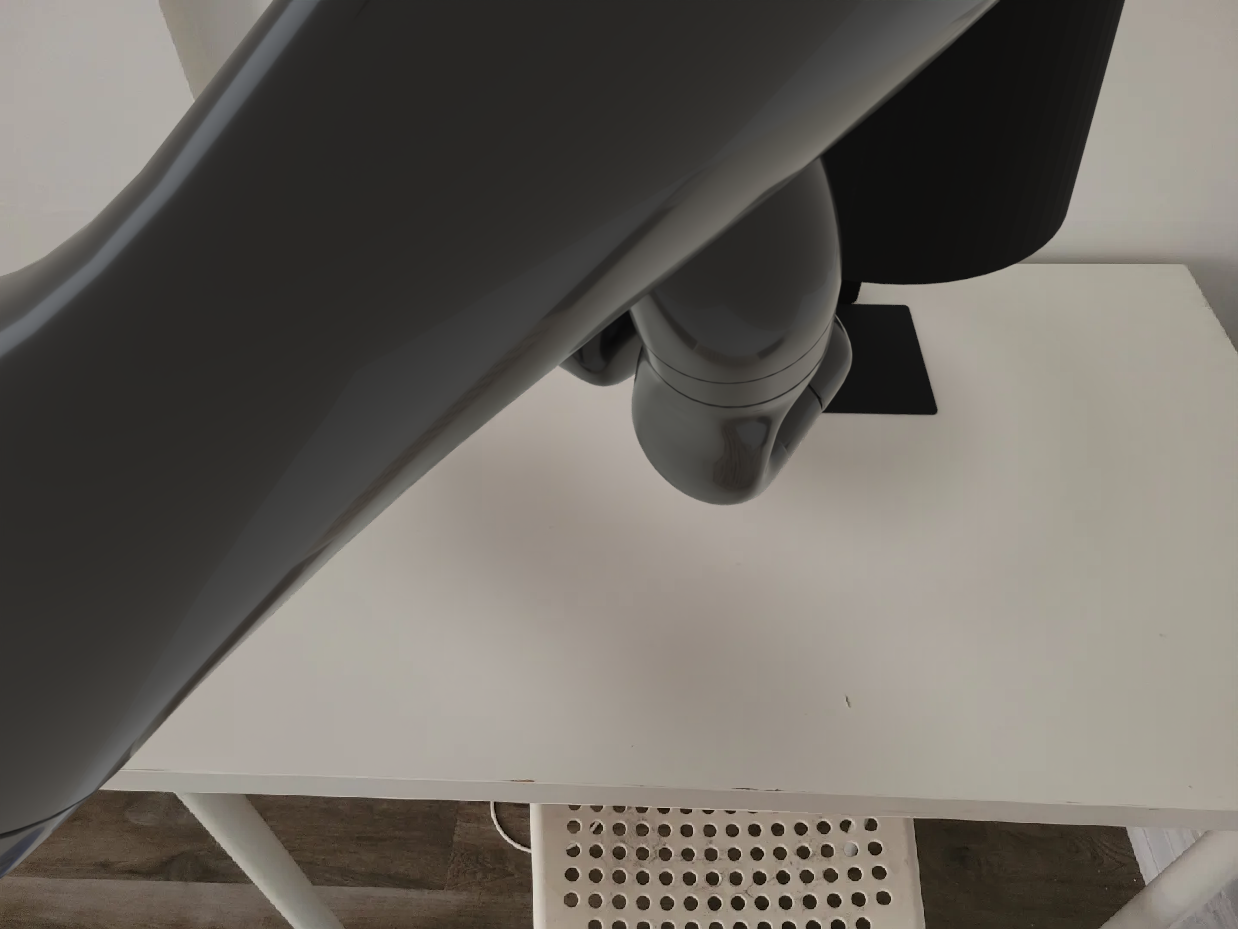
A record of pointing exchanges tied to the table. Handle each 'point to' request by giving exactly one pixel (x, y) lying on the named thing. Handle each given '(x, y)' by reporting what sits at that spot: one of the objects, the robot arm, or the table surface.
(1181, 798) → the table surface
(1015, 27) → the table lamp
